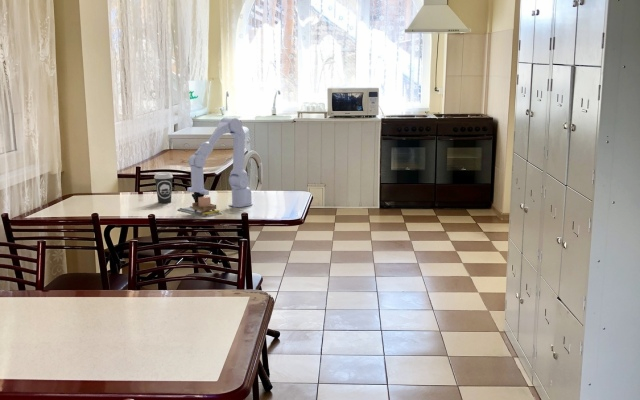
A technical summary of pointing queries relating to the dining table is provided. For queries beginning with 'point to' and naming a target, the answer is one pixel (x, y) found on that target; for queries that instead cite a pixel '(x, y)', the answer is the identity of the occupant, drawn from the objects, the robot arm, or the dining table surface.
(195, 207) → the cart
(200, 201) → the block
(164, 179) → the coffee cup
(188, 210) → the rail
